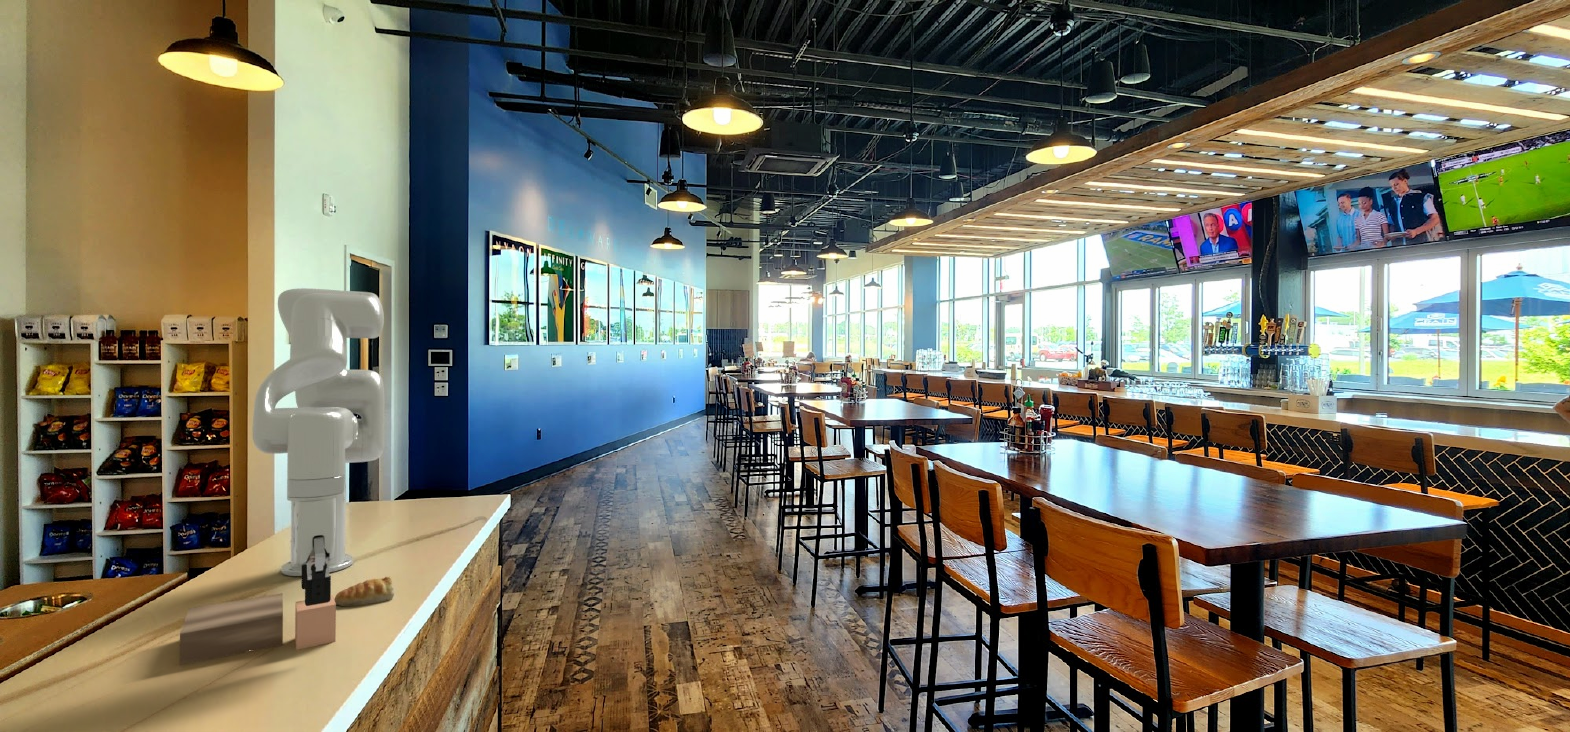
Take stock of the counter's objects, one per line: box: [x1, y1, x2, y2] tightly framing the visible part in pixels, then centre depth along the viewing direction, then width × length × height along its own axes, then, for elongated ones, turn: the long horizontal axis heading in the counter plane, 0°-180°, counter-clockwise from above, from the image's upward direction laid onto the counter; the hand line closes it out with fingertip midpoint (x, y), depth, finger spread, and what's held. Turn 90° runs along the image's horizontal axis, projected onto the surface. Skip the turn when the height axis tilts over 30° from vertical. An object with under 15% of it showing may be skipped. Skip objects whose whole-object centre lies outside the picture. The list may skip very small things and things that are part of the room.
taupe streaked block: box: [179, 592, 284, 666], centre depth 105 cm, size 12×12×5 cm
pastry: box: [334, 576, 395, 607], centre depth 123 cm, size 9×7×4 cm
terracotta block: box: [294, 595, 337, 650], centre depth 106 cm, size 5×5×6 cm
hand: (315, 595), depth 105 cm, fingers open, 9 cm apart
